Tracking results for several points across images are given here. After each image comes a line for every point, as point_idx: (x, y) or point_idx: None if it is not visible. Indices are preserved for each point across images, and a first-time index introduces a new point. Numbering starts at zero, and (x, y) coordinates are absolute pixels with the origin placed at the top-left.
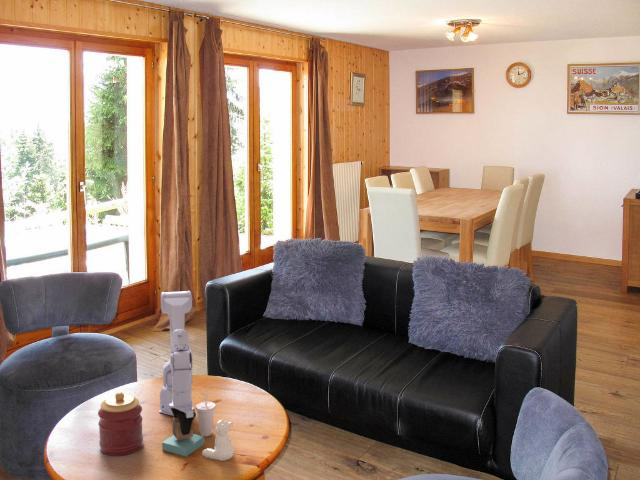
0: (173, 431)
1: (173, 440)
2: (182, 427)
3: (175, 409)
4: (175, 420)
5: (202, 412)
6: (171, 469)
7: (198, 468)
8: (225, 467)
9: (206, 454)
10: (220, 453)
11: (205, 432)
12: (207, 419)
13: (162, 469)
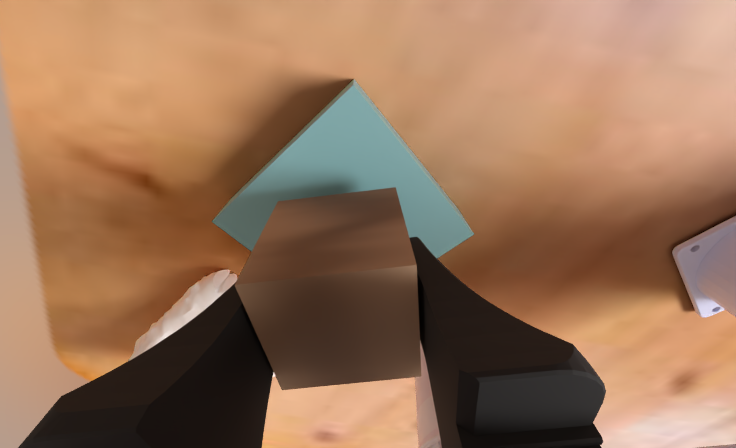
0: (379, 200)
1: (352, 171)
2: (221, 303)
3: (450, 390)
4: (351, 284)
5: (433, 437)
6: (73, 88)
7: (95, 229)
8: (110, 321)
9: (190, 290)
10: (135, 349)
11: None
12: (416, 398)
13: (68, 23)
